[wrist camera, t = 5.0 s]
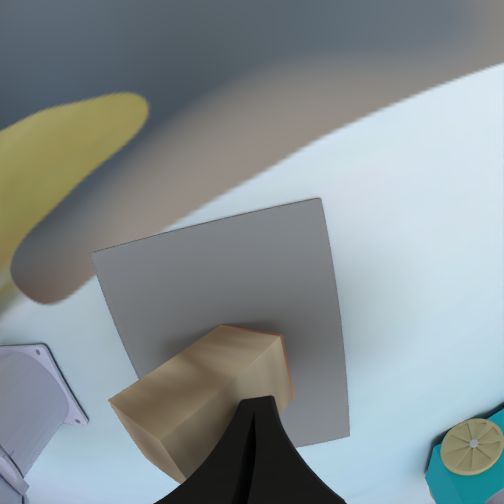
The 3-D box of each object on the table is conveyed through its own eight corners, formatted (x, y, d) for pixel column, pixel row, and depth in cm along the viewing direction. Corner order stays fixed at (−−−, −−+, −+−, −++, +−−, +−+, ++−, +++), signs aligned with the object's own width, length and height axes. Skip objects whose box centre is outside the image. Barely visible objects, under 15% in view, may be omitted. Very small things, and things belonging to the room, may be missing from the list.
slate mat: (184, 452, 20) (182, 456, 19) (94, 251, 16) (90, 253, 15) (348, 431, 19) (349, 436, 18) (319, 197, 15) (321, 198, 14)
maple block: (238, 380, 17) (145, 457, 11) (220, 324, 16) (107, 400, 11) (295, 396, 15) (199, 497, 9) (282, 334, 14) (159, 440, 8)
